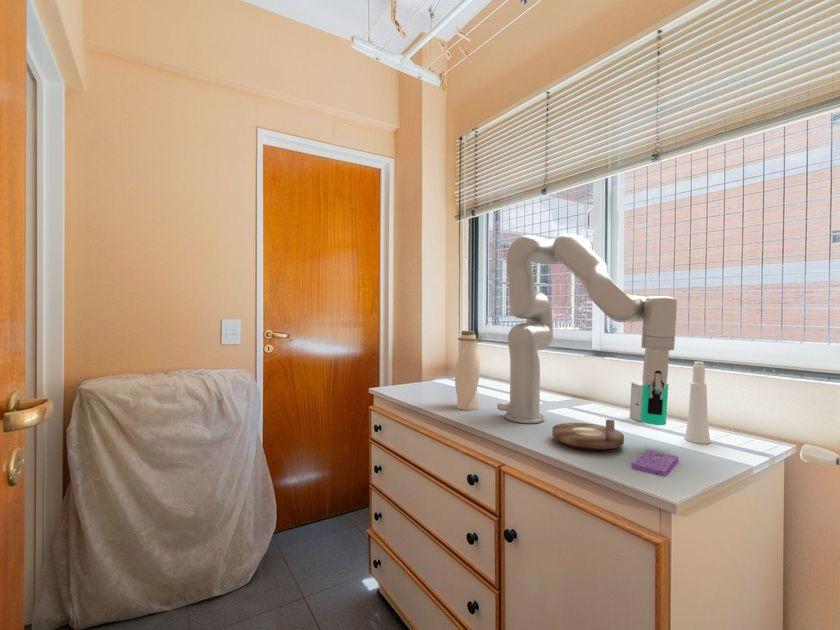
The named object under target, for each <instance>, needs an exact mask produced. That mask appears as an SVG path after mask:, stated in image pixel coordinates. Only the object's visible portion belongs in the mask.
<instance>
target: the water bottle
mask: <svg viewBox="0 0 840 630" xmlns="http://www.w3.org/2000/svg"><path fill="white" fill-rule="evenodd" d="M460 332H461V333H460V335H459V336H460V337H458V338H457V340H458V341H460V342H459V351H458V352H459V353H458V354H459V358H458V359H457V362H456V364H455V370H454V384H455V386H454V387H455V391H456V397H457V400H456V401H457V402H456V408H457V409H458V408H459V410H461V409H462V410H461V411H475V410H478V409H479V392H478V387H479V381H480V376H481V372H480V371H481V362H480V357H479V353H478V350H477V348H478V338H477V336H476V331H475V330H461V331H460Z"/></svg>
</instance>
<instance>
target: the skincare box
mask: <svg viewBox="0 0 840 630" xmlns="http://www.w3.org/2000/svg"><path fill="white" fill-rule="evenodd" d="M630 383H631V384H630V385H631V386H630V405H629V406H630V407H629V418H631V419H632V420H634V419H635V420H634V421H636V420H637V421H636V422H639V421H641V405H642V389H643V381H631V382H630Z"/></svg>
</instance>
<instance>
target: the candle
mask: <svg viewBox="0 0 840 630" xmlns="http://www.w3.org/2000/svg"><path fill="white" fill-rule="evenodd" d="M642 382H643V381H642ZM652 386H654V387H655V384H652ZM653 390H655V389H653ZM668 393H669V383H667V384H666V387H665V388H663V393H662V399H663V406H662V415H656V414H649V413H648V399H649V398H650V385H648V386H647V387H646V386H645V385H644V382H643V389H642V405H641V421H642V423H645V424H648V425H654V426H666V425H667V413H668V412H667V410H668Z"/></svg>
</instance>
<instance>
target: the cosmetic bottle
mask: <svg viewBox="0 0 840 630" xmlns="http://www.w3.org/2000/svg"><path fill="white" fill-rule="evenodd" d="M693 364H694V365H692V381H691V382H690V387H689V402H688V411H687V412H688V414H687V415H688V416H687V422H686V423H687V425H686V430H685V435H684V439H685V440H686V441H688V442H690V443H695V444H700V445H706V444H710V443H711V438H710V430H709V419H708V416H709V415H708V391H707V389H708V388H707V383H706V382H705V380H706V378H705V377H706V370H705V369H706V366H705V365H704V361H694V362H693Z"/></svg>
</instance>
